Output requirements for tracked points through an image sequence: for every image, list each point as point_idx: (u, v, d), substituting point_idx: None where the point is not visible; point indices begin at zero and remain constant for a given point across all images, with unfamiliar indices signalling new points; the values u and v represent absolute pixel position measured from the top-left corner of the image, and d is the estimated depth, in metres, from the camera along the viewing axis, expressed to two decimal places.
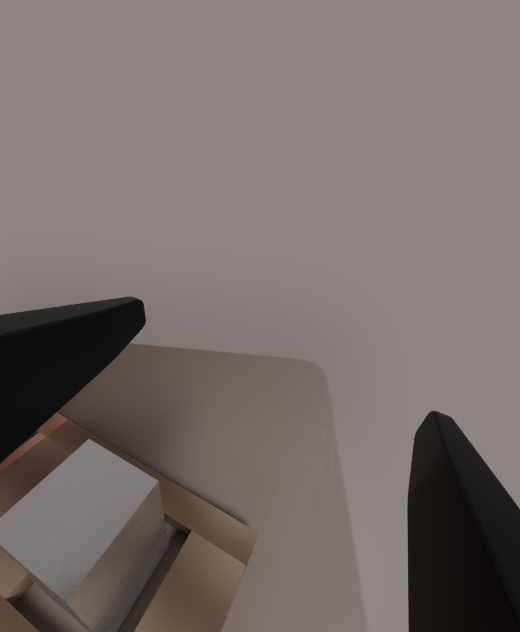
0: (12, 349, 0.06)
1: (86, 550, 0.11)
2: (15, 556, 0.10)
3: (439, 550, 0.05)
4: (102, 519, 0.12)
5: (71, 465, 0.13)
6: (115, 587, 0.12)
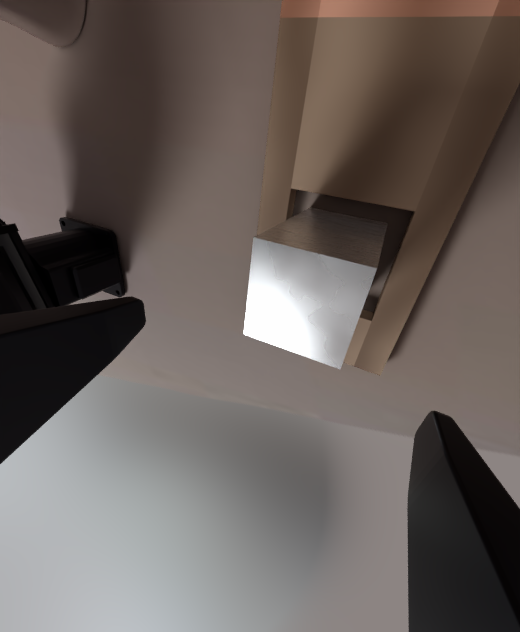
0: (12, 349, 0.06)
1: (271, 331, 0.12)
2: (249, 280, 0.11)
3: (439, 550, 0.05)
4: (293, 333, 0.12)
5: (333, 271, 0.10)
6: None
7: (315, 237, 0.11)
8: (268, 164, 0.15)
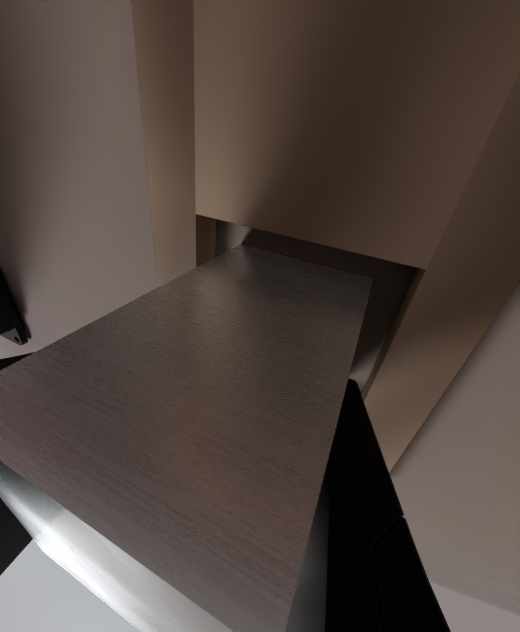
0: None
1: (80, 577, 0.05)
2: None
3: None
4: (119, 606, 0.05)
5: (141, 577, 0.03)
6: None
7: (165, 370, 0.04)
8: (153, 169, 0.08)
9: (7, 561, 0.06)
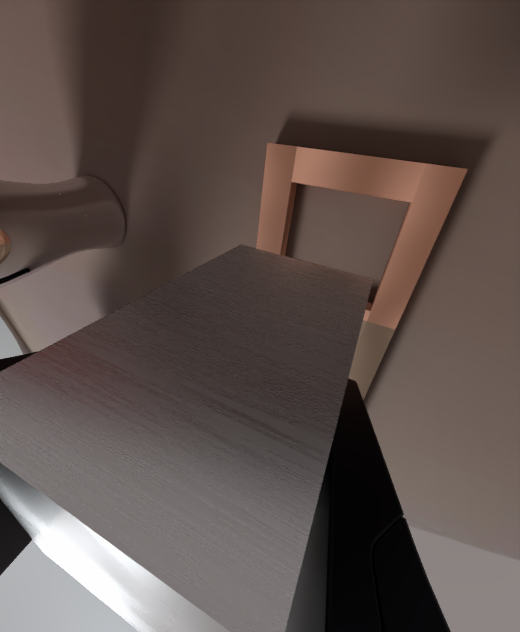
0: None
1: (80, 579, 0.05)
2: None
3: None
4: (118, 608, 0.05)
5: (141, 579, 0.03)
6: None
7: (165, 372, 0.04)
8: None
9: (7, 562, 0.06)
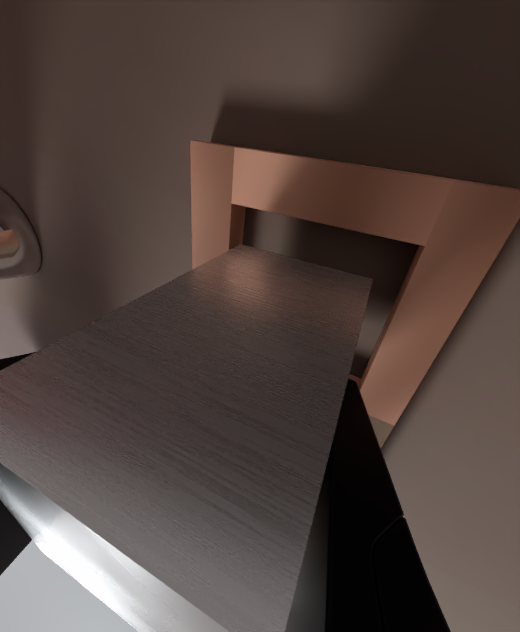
0: None
1: (80, 579, 0.05)
2: None
3: None
4: (118, 607, 0.05)
5: (140, 579, 0.03)
6: None
7: (165, 371, 0.04)
8: None
9: (7, 561, 0.06)
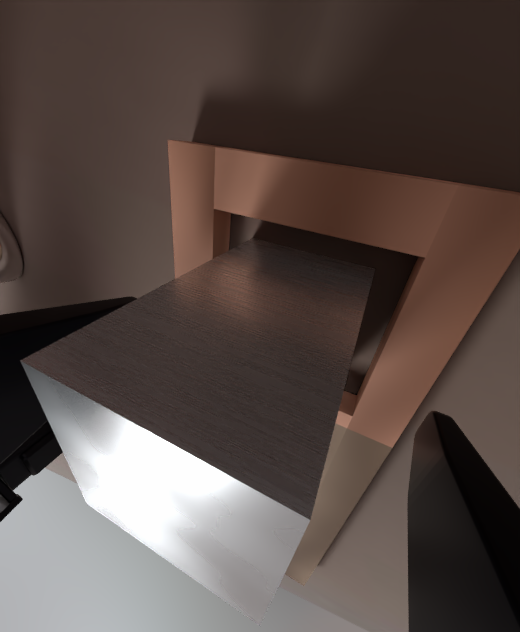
0: (12, 349, 0.06)
1: (124, 520, 0.06)
2: (55, 434, 0.05)
3: (439, 550, 0.05)
4: (160, 540, 0.05)
5: (200, 480, 0.03)
6: None
7: (202, 338, 0.05)
8: None
9: None
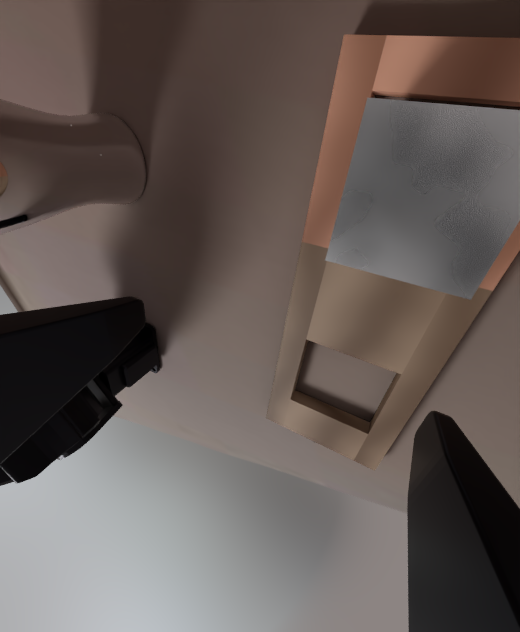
0: (12, 349, 0.06)
1: (368, 251, 0.09)
2: (348, 173, 0.08)
3: (439, 550, 0.05)
4: (404, 250, 0.08)
5: (498, 134, 0.06)
6: None
7: None
8: (289, 321, 0.20)
9: None
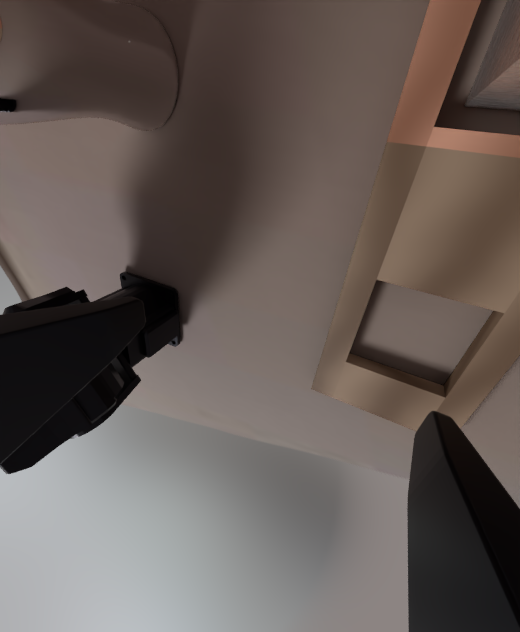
0: (12, 349, 0.06)
1: None
2: None
3: (439, 550, 0.05)
4: None
5: None
6: None
7: None
8: (356, 257, 0.16)
9: None
